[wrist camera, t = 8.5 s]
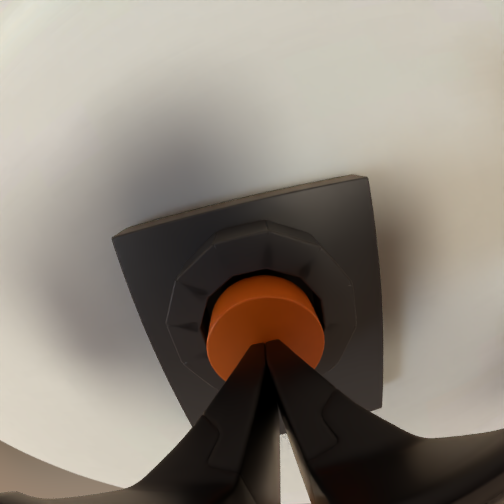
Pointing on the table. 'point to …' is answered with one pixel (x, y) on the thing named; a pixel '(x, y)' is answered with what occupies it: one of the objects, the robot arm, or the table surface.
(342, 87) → the table surface
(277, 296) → the button
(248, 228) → the button block
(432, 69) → the table surface
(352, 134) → the table surface
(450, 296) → the table surface
